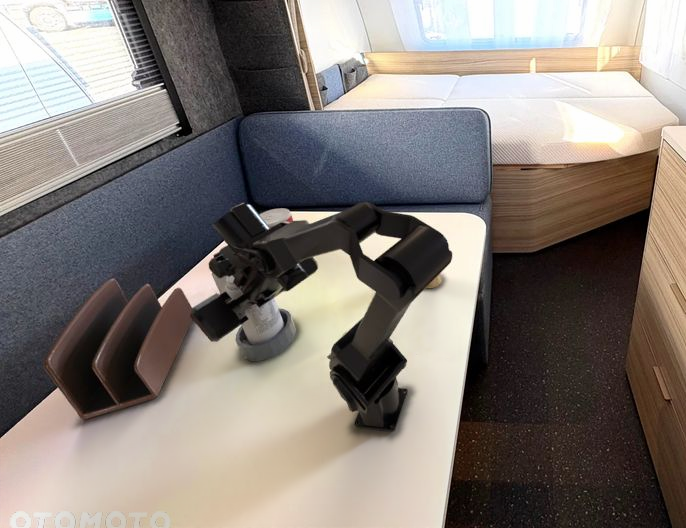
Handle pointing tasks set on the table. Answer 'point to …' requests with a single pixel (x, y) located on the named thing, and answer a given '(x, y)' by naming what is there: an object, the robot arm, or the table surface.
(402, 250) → the robot arm
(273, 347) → the grey round dish
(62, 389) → the letter holder
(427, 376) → the table surface
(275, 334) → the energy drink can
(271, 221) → the canned food
